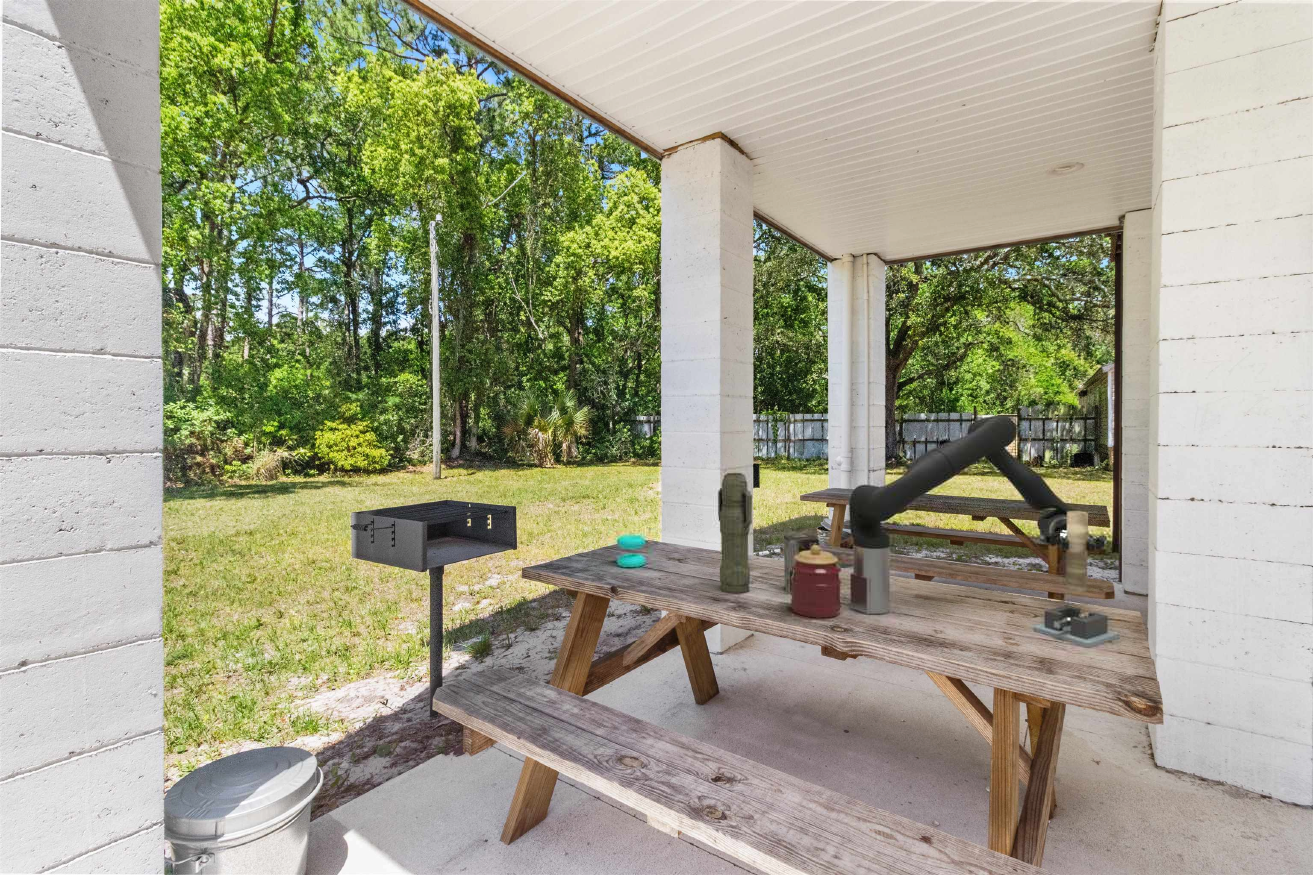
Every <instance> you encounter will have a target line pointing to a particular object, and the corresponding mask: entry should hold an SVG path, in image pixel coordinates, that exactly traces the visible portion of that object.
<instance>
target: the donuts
mask: <svg viewBox="0 0 1313 875" xmlns="http://www.w3.org/2000/svg"><path fill="white" fill-rule="evenodd" d="M645 543H646V538H644V536H642V535H638V534H627V535H626V534H625V535H622V536H619V537H617V539H616V544H617V545H618V546H619V548H622V549H626V550H627V549H628V550H633V549H634V550H635V549H639V548H641V547H643V546H645ZM616 563H617V565H618V566H619V567H621V566H623V567H622V568H625V567H636V568H640V567H639V566H641V567H643V566H644V565H645V563H646V558H645V556H643V555H642V554H639V553H631V552H630V553H624V554H622V555H620V556H618V557H617V560H616ZM642 565H643V566H642Z"/></svg>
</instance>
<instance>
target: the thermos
mask: <svg viewBox="0 0 1313 875" xmlns="http://www.w3.org/2000/svg"><path fill="white" fill-rule="evenodd" d="M717 505H718V506H717V509H718V510H717V513H718V521H719V532H720V535H721V563H720V566H719V581H720V582H719V583H720V588H719V589H720V591H721V592H723V593H725V594H729V595H744V594H746V593H749V592H750V583H751V568H750V565H749V534H750V526H751V524H752V522H753V521H752V516H753V515H752V510H753V507H752V506H753V495H752V492H751V490H748V481H747V478H746V475H745V474H743V472H728V473H726V474H724V476H723V478H722V482H721V487H720V488H719V490H718V491H717Z"/></svg>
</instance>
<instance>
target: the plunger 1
mask: <svg viewBox="0 0 1313 875" xmlns="http://www.w3.org/2000/svg"><path fill="white" fill-rule="evenodd" d="M1066 626H1071V618H1070V617H1066V618H1065V619H1062V620H1058V621H1054V627H1057V628H1062V627H1066Z"/></svg>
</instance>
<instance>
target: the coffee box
mask: <svg viewBox="0 0 1313 875" xmlns="http://www.w3.org/2000/svg"><path fill="white" fill-rule="evenodd" d="M783 542H784V544H783V546H784V548H783V550H784V552H783V553H784V557H783V558H784V560H783V562H784V566H783V567H784V589H785V590H786V591H787V592H788V593H789V594H790V593H792V580H791V577H792V576H793V569H792V568H791V565H792V564H793V563H794V562H795V561H796V560H795V559H794V556H796V555H797V554H799V553H800V552H802V551H808V550H811V547H812V546H813V545H818V546H819V547H820V539H819V538H818V537H817V536H815V535H814V534H796V535H794V534H793V535H784V537H783Z"/></svg>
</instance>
